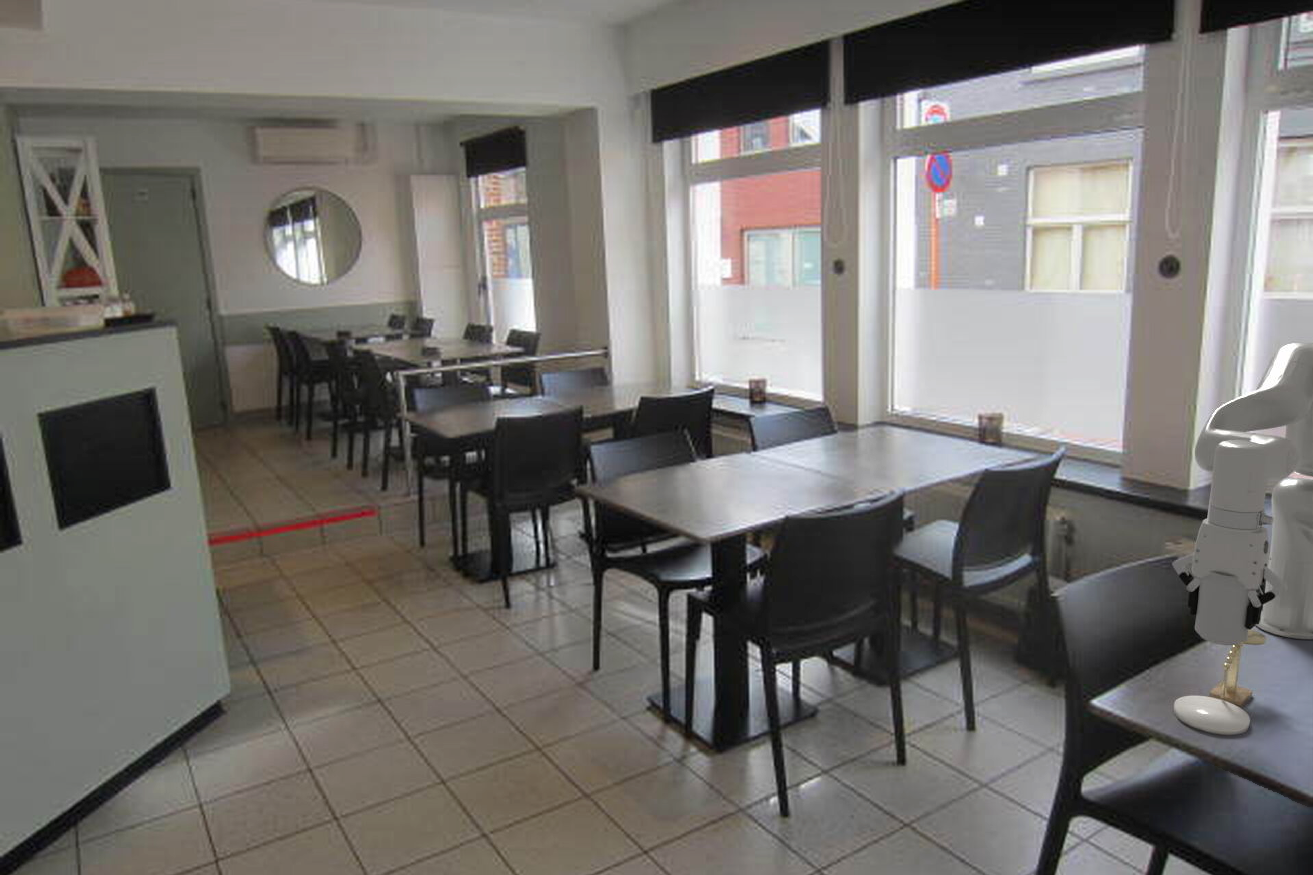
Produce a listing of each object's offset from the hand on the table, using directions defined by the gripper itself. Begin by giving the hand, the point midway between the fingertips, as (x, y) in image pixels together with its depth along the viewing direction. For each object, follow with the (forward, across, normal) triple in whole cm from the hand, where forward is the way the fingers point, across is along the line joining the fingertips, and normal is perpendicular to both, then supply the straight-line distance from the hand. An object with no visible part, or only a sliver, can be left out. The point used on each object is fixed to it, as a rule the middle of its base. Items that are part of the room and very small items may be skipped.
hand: (1222, 618), depth 152 cm
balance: (+18, 0, -12) cm, 21 cm away
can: (+4, 0, 0) cm, 4 cm away
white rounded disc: (+18, 0, 0) cm, 18 cm away
